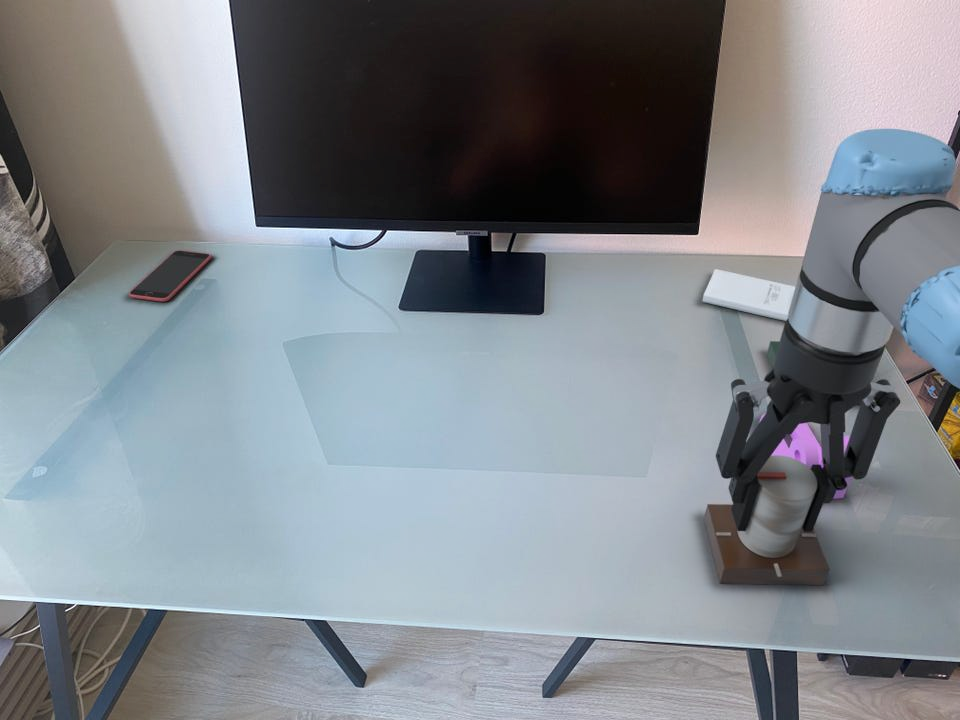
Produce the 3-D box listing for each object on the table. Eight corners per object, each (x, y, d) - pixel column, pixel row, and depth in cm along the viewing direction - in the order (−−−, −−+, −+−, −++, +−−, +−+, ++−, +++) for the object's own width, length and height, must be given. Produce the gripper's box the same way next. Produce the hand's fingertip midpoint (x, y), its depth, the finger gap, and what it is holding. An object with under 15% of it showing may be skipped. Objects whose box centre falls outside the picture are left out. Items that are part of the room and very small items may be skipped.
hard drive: (713, 276, 118) (797, 294, 114) (701, 303, 112) (788, 323, 108) (715, 267, 117) (799, 285, 113) (703, 294, 111) (791, 313, 107)
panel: (796, 514, 81) (802, 497, 79) (826, 593, 73) (833, 576, 71) (701, 513, 81) (705, 496, 79) (721, 591, 73) (726, 575, 72)
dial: (786, 513, 78) (807, 453, 72) (803, 558, 73) (827, 497, 68) (731, 512, 78) (748, 452, 72) (744, 557, 73) (764, 497, 68)
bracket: (842, 498, 82) (861, 453, 78) (793, 501, 82) (809, 456, 78) (795, 417, 92) (809, 373, 88) (750, 420, 92) (762, 376, 88)
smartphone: (125, 294, 116) (175, 249, 126) (126, 297, 116) (176, 252, 127) (166, 299, 114) (213, 253, 125) (167, 303, 115) (213, 256, 125)
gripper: (934, 302, 62) (853, 492, 77) (706, 302, 63) (668, 490, 77) (979, 359, 56) (882, 552, 71) (727, 358, 57) (682, 550, 71)
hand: (771, 520), depth 74 cm, fingers closed on dial, 6 cm apart
